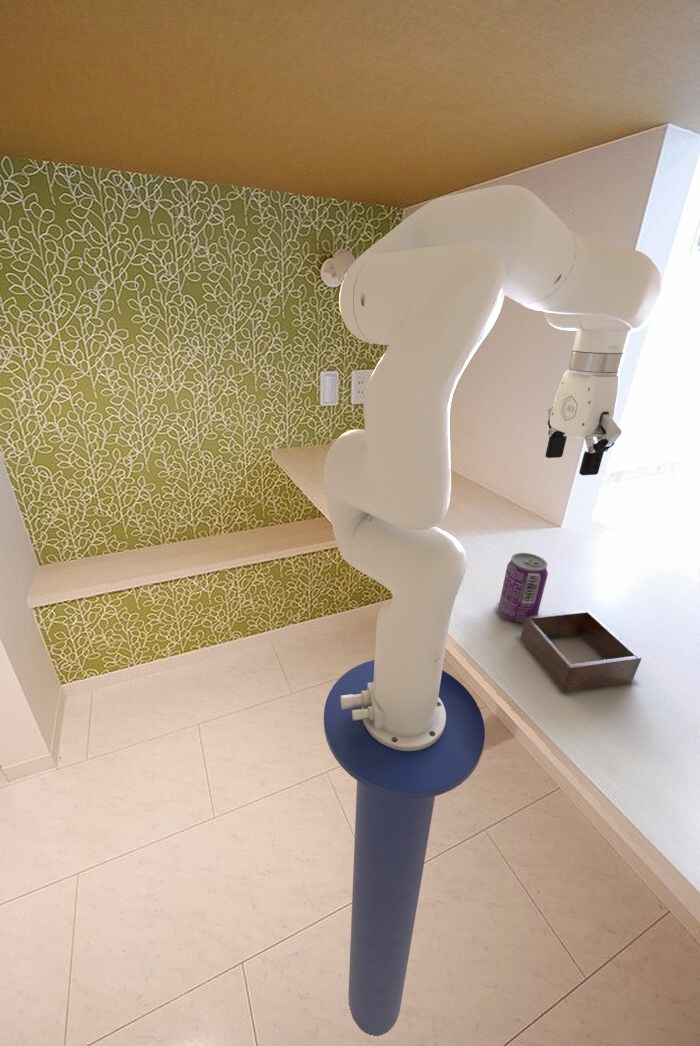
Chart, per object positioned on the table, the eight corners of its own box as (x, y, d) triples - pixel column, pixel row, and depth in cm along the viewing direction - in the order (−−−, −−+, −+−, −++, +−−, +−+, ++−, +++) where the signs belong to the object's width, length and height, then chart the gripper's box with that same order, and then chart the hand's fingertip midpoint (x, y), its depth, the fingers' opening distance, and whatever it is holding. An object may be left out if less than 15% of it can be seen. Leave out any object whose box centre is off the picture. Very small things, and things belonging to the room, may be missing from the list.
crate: (562, 692, 67) (570, 668, 65) (519, 639, 78) (525, 616, 76) (632, 682, 69) (642, 658, 67) (581, 631, 80) (588, 609, 78)
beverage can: (542, 614, 84) (556, 561, 79) (526, 631, 80) (540, 575, 75) (508, 598, 89) (519, 547, 84) (491, 613, 84) (501, 560, 79)
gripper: (542, 358, 77) (524, 452, 85) (612, 370, 62) (583, 483, 69) (580, 358, 78) (559, 450, 86) (658, 370, 63) (624, 481, 71)
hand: (569, 465), depth 78 cm, fingers open, 9 cm apart
